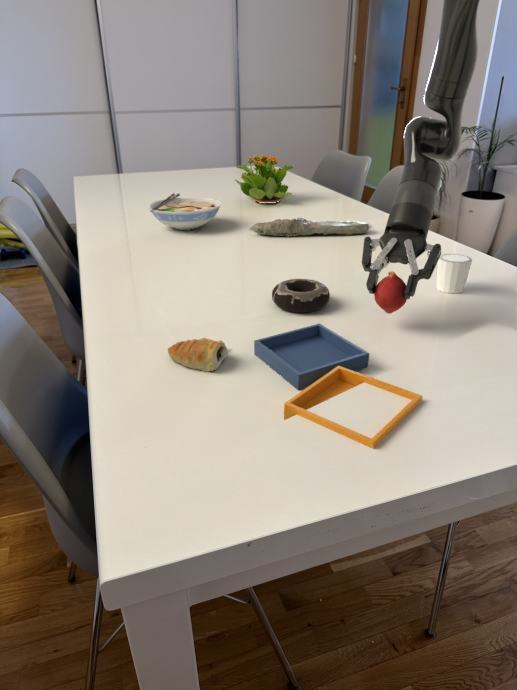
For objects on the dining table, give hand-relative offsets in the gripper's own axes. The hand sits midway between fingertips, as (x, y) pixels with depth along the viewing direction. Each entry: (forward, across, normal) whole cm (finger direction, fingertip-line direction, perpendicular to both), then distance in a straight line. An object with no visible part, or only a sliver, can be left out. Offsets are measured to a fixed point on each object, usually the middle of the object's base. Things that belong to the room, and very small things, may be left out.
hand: (388, 294), depth 90 cm
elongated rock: (-36, -38, +46) cm, 70 cm away
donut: (+2, -19, +8) cm, 21 cm away
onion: (+2, 0, +4) cm, 5 cm away
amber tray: (+25, +3, -15) cm, 30 cm away
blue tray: (+17, -8, -7) cm, 20 cm away
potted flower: (-62, -71, +71) cm, 118 cm away
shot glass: (-14, +7, +24) cm, 29 cm away
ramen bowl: (-29, -77, +38) cm, 91 cm away
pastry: (+23, -24, -13) cm, 35 cm away
